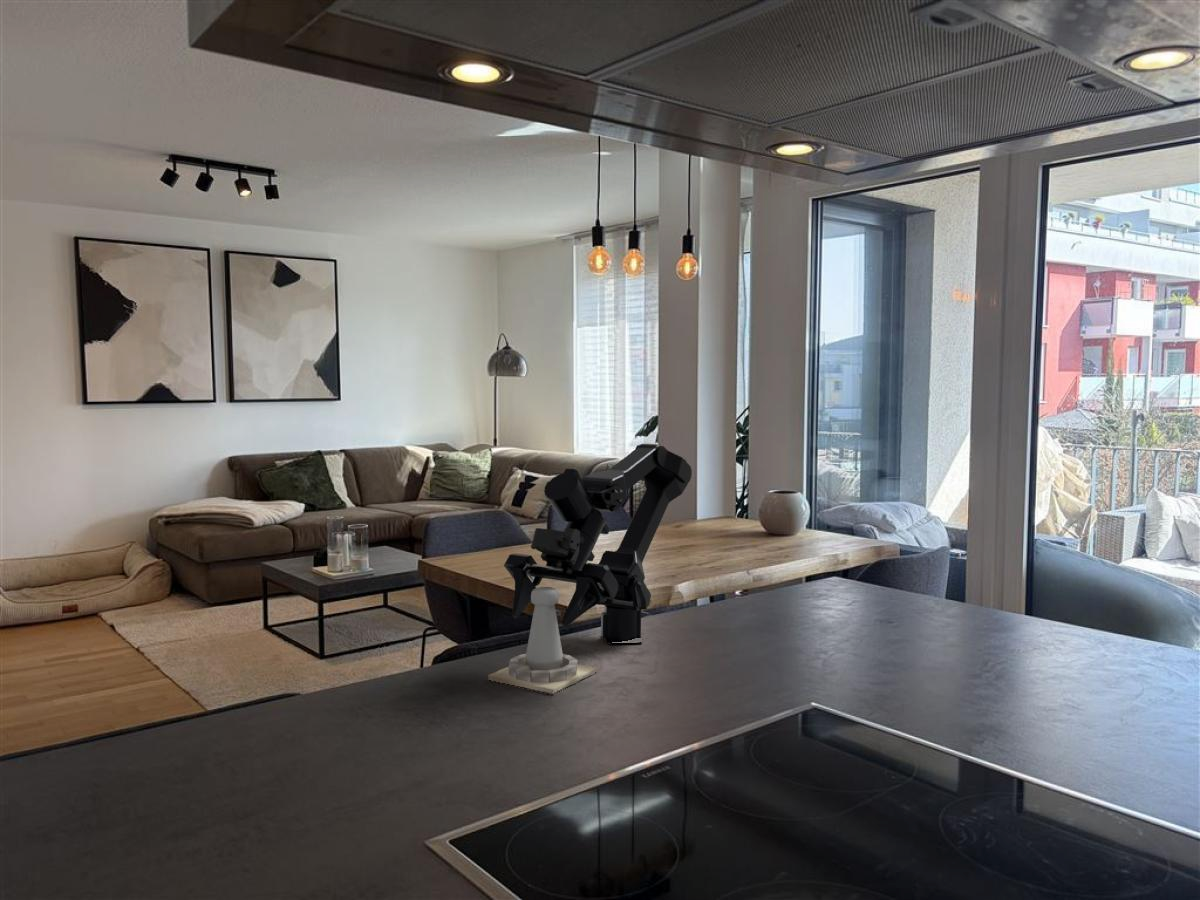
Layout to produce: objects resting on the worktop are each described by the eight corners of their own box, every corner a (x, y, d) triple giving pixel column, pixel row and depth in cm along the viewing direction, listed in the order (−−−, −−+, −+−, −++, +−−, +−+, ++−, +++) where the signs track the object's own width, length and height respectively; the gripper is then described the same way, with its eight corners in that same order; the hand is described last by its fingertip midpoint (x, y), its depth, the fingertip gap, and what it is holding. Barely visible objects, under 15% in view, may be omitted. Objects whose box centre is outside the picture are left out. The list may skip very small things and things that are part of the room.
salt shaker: (521, 675, 133) (521, 591, 132) (530, 664, 138) (530, 583, 138) (558, 678, 132) (558, 593, 131) (566, 666, 137) (567, 585, 137)
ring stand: (534, 660, 143) (534, 646, 143) (596, 673, 137) (596, 658, 137) (488, 680, 133) (488, 665, 133) (553, 695, 127) (553, 679, 127)
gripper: (511, 503, 142) (466, 583, 133) (609, 513, 132) (569, 599, 123) (539, 545, 149) (498, 623, 140) (634, 556, 139) (597, 641, 130)
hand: (538, 620), depth 133 cm, fingers open, 9 cm apart
